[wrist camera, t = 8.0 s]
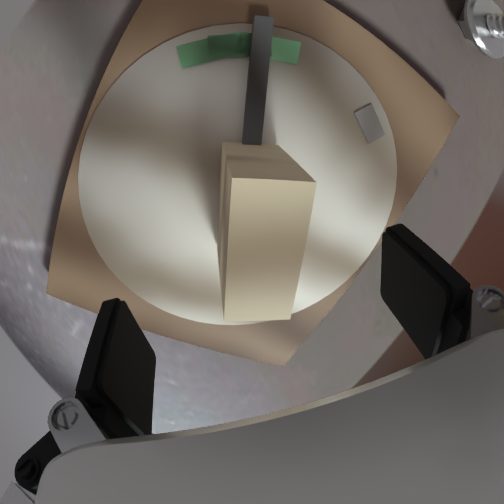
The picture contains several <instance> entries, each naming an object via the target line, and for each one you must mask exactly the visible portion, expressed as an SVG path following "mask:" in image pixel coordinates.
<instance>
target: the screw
mask: <svg viewBox="0 0 504 504" xmlns="http://www.w3.org/2000/svg"><path fill="white" fill-rule="evenodd" d="M458 23H459V25H460V27H461V29H462V31H463V34H464V36H465V38H466V39H469V40H472V41H473V43H474V44H475V46H476V47H477V48H478V49H479V51H480V52H482V53H483V54H484V55H486V56H487V57H490V58H495V59H497V58H501V57H503V56H504V13H503V12H502V11H501V9H500V8H499V7H498V6H497V5H496V3H495V2H494V1H493V0H466V2H465V4H464V9H462V11H461V14H460V17H459V19H458Z"/></svg>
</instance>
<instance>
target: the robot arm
mask: <svg viewBox="0 0 504 504" xmlns="http://www.w3.org/2000/svg"><path fill="white" fill-rule="evenodd" d="M380 291H381V296H382V299H383V300H384V302H385V303H386V305H387V306H388V307H389V309H390V310H391V311H392V313H393V314H394V315H395V317H396V318H397V320H398V321H399V322H400V324H401V325H402V327H403V328H404V329H405V331H406V332H407V334H408V335H409V336H410V338H411V339H412V341H413V342H414V344H415V345H416V346H417V348H418V349H419V351H420V352H421V354H422V355H423V357H424V358H425V359H426V360H424V361H421V362H419V363H417V364H415V365H412V366H410V367H408V368H405V369H403V370H400V371H398V372H396V373H393V374H391V375H388V376H386V377H383V378H381V379H378V380H375V381H373V382H370V383H367V384H365V385H362V386H359V387H356V388H353V389H350V390H347V391H345V392H342V393H339V394H336V395H333V396H329V397H326V398H323V399H320V400H317V401H313V402H310V403H307V404H303V405H300V406H296V407H292V408H289V409H285V410H281V411H277V412H273V413H269V414H265V415H261V416H257V417H252V418H248V419H243V420H239V421H234V422H229V423H224V424H219V425H213V426H208V427H202V428H196V429H189V430H182V431H175V432H168V433H160V434H153V435H151V433H152V411H153V394H154V379H155V366H156V356H155V353H154V351H153V349H152V347H151V346H150V344H149V342H148V341H147V339H146V337H145V336H144V334H143V332H142V330H141V329H140V327H139V325H138V323H137V322H136V320H135V318H134V316H133V314H132V313H131V311H130V309H129V307H128V305H127V303H126V302H125V301H121V300H120V299H119V298H114V299H110V300H106V301H103V302H102V305H101V308H100V310H99V313H98V316H97V319H96V322H95V325H94V328H93V331H92V335H91V338H90V341H89V344H88V347H87V351H86V354H85V357H84V361H83V364H82V368H81V372H80V375H79V379H78V383H77V386H76V390H75V391H76V396H75V398H73V397H67V398H64V399H62V400H60V401H58V402H57V403H56V404H55V405H54V406H53V408H52V409H51V411H50V413H49V416H48V426H49V429H50V431H49V432H48V433H47V434H46V435H45V436H43V437H42V438H41V439H40V440H39V441H38V442H37V443H36V444H35V445H33V446H32V447H31V448H30V449H29V450H28V451H27V452H26V453H25V454H23V455H22V456H21V458H20V459H19V460H18V462H17V464H16V467H15V478H16V483H14V482H11V484H10V485H9V487H8V488H7V490H6V492H5V493H4V495H3V497H2V498H1V500H0V504H504V292H503V291H502V290H501V289H499V288H497V287H494V286H480V287H478V288H477V289H475V290H474V291H473V290H471V289H470V283H468V282H467V281H466V280H465V279H464V278H463V277H462V276H461V275H460V274H459V273H458V272H457V271H456V270H455V269H454V268H453V267H451V266H450V265H449V264H448V263H447V262H446V261H445V260H444V259H443V258H442V257H440V256H439V255H438V254H437V253H436V252H435V251H434V250H432V249H431V248H430V247H429V246H428V245H427V244H426V243H424V242H423V241H422V240H421V239H420V238H419V237H417V236H416V235H415V234H414V233H413V232H411V231H410V230H409V229H408V228H407V227H405V226H404V225H403V224H397V225H393V226H389V227H387V228H386V230H385V232H383V234H382V265H381V289H380Z"/></svg>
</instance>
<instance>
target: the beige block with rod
mask: <svg viewBox="0 0 504 504" xmlns="http://www.w3.org/2000/svg"><path fill="white" fill-rule="evenodd" d="M273 24H274V17H266V16H257V15H255V16H254V17H253V26H252V36H251V47H250V57H249V68H248V78H247V89H246V101H245V112H244V124H243V136H242V142H222V156H221V173H220V192H219V213H218V236H217V253H218V265H219V276H220V286H221V297H222V307H223V317H224V322H233V321H267V320H290V318H291V314H292V309H293V305H294V300H295V295H296V291H297V286H298V281H299V276H300V271H301V266H302V261H303V256H304V251H305V246H306V240H307V235H308V230H309V224H310V219H311V213H312V207H313V202H314V196H315V190H316V184H317V182H316V181H315V180H314V179H313V178H312V177H311V176H310V175H309V174H308V173H307V172H306V171H305V170H304V169H303V168H302V167H301V166H300V165H299V164H298V163H297V162H296V161H295V160H294V159H293V158H292V157H291V156H290V155H289V154H287V153H286V152H285V151H284V150H283V149H282V148H281V147H280V146H279V145H274V144H262V134H263V124H264V114H265V104H266V94H267V84H268V74H269V64H270V54H271V44H272V34H273Z"/></svg>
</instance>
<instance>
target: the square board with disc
mask: <svg viewBox="0 0 504 504" xmlns="http://www.w3.org/2000/svg"><path fill="white" fill-rule="evenodd" d="M255 15H257V16H266V17H274V24H273V34H272V44H271V54H270V64H269V74H268V84H267V94H266V104H265V114H264V124H263V134H262V144H274V145H279V146H280V147H281V148H282V149H283V150H284V151H285V152H286V153H287V154H289V155H290V156H291V157H292V158H293V159H294V160H295V161H296V162H297V163H298V164H299V165H300V166H301V167H302V168H303V169H304V170H305V171H306V172H307V173H308V174H309V175H310V176H311V177H312V178H313V179H314V180H315V181H316V182H317V184H316V190H315V196H314V202H313V207H312V213H311V219H310V224H309V230H308V235H307V240H306V246H305V251H304V256H303V261H302V266H301V271H300V276H299V281H298V286H297V291H296V295H295V300H294V305H293V309H292V314H291V318H290V320H267V321H233V322H224V317H223V307H222V297H221V286H220V276H219V265H218V253H217V236H218V213H219V192H220V173H221V156H222V142H242V136H243V124H244V112H245V101H246V89H247V78H248V68H249V57H250V47H251V36H252V26H253V17H254V16H255ZM458 118H459V115H458V114H457V113H456V112H455V110H454V109H453V108H452V107H451V106H450V105H449V104H448V103H447V102H446V101H445V100H444V99H443V97H442V96H441V95H440V94H439V93H438V92H437V91H436V90H435V89H434V88H433V87H432V86H431V85H430V84H429V83H428V82H427V81H426V80H425V79H424V78H423V77H422V76H420V75H419V74H418V73H417V72H416V71H415V70H414V69H413V68H412V67H411V66H410V65H409V64H407V63H406V62H405V61H404V60H403V59H402V58H401V57H399V56H398V55H397V54H396V53H395V52H394V51H392V50H391V49H390V48H389V47H388V46H386V45H385V44H384V43H383V42H381V41H380V40H379V39H378V38H376V37H375V36H374V35H373V34H371V33H370V32H369V31H367V30H366V29H365V28H363V27H362V26H361V25H359V24H358V23H356V22H355V21H354V20H352V19H351V18H349V17H348V16H346V15H345V14H344V13H342V12H341V11H339V10H338V9H336V8H335V7H333V6H331V5H330V4H328V3H327V2H325V1H324V0H142V2H141V3H140V5H139V7H138V8H137V10H136V12H135V14H134V15H133V17H132V19H131V21H130V23H129V24H128V26H127V28H126V30H125V32H124V34H123V36H122V37H121V39H120V41H119V43H118V45H117V47H116V49H115V51H114V53H113V56H112V58H111V60H110V62H109V64H108V66H107V68H106V71H105V73H104V75H103V77H102V80H101V82H100V84H99V87H98V89H97V92H96V94H95V97H94V99H93V102H92V104H91V107H90V109H89V112H88V115H87V118H86V120H85V123H84V126H83V129H82V132H81V135H80V138H79V141H78V144H77V147H76V150H75V153H74V157H73V160H72V163H71V167H70V170H69V174H68V178H67V181H66V185H65V189H64V193H63V197H62V202H61V206H60V211H59V215H58V220H57V225H56V230H55V235H54V241H53V247H52V253H51V259H50V266H49V274H48V282H47V291H46V293H47V294H49V295H51V296H54V297H56V298H59V299H61V300H64V301H66V302H68V303H71V304H73V305H76V306H79V307H81V308H84V309H86V310H89V311H92V312H94V313H97V314H98V313H99V310H100V308H101V305H102V302H103V301H106V300H110V299H114V298H119V299H120V300H121V301H125V302H126V303H127V305H128V307H129V309H130V311H131V313H132V314H133V316H134V318H135V320H136V322H137V323H138V325H139V327H140V329H143V330H146V331H149V332H152V333H155V334H159V335H162V336H165V337H168V338H172V339H175V340H178V341H182V342H185V343H189V344H192V345H196V346H199V347H203V348H207V349H210V350H214V351H218V352H222V353H226V354H230V355H234V356H238V357H242V358H246V359H250V360H255V361H259V362H264V363H268V364H273V365H277V366H282V367H283V366H284V365H285V363H286V362H287V361H288V360H289V359H290V358H291V357H292V355H293V354H294V353H295V352H296V351H297V350H298V349H299V347H300V346H301V345H302V344H303V343H304V342H305V340H306V339H307V338H308V337H309V336H310V334H311V333H312V332H313V331H314V330H315V328H316V327H317V326H318V325H319V324H320V322H321V321H322V320H323V319H324V317H325V316H326V315H327V314H328V312H329V311H330V310H331V309H332V307H333V306H334V305H335V304H336V302H337V301H338V300H339V299H340V297H341V296H342V295H343V293H344V292H345V291H346V290H347V288H348V287H349V286H350V284H351V283H352V282H353V280H354V279H355V278H356V276H357V275H358V274H359V272H360V271H361V270H362V268H363V267H364V266H365V264H366V263H367V262H368V260H369V259H370V257H371V256H372V255H373V253H374V252H375V251H376V249H377V248H378V246H379V245H380V243H381V242H382V234H383V232H385V230H386V228H387V227H389V226H393V225H394V223H395V222H396V220H397V219H398V217H399V216H400V214H401V213H402V211H403V210H404V208H405V207H406V205H407V204H408V202H409V201H410V199H411V198H412V196H413V194H414V193H415V191H416V190H417V188H418V187H419V185H420V183H421V182H422V180H423V179H424V177H425V175H426V174H427V172H428V170H429V169H430V167H431V166H432V164H433V162H434V160H435V159H436V157H437V155H438V154H439V152H440V150H441V149H442V147H443V145H444V143H445V142H446V140H447V138H448V136H449V135H450V133H451V131H452V129H453V127H454V125H455V124H456V122H457V120H458Z"/></svg>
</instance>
